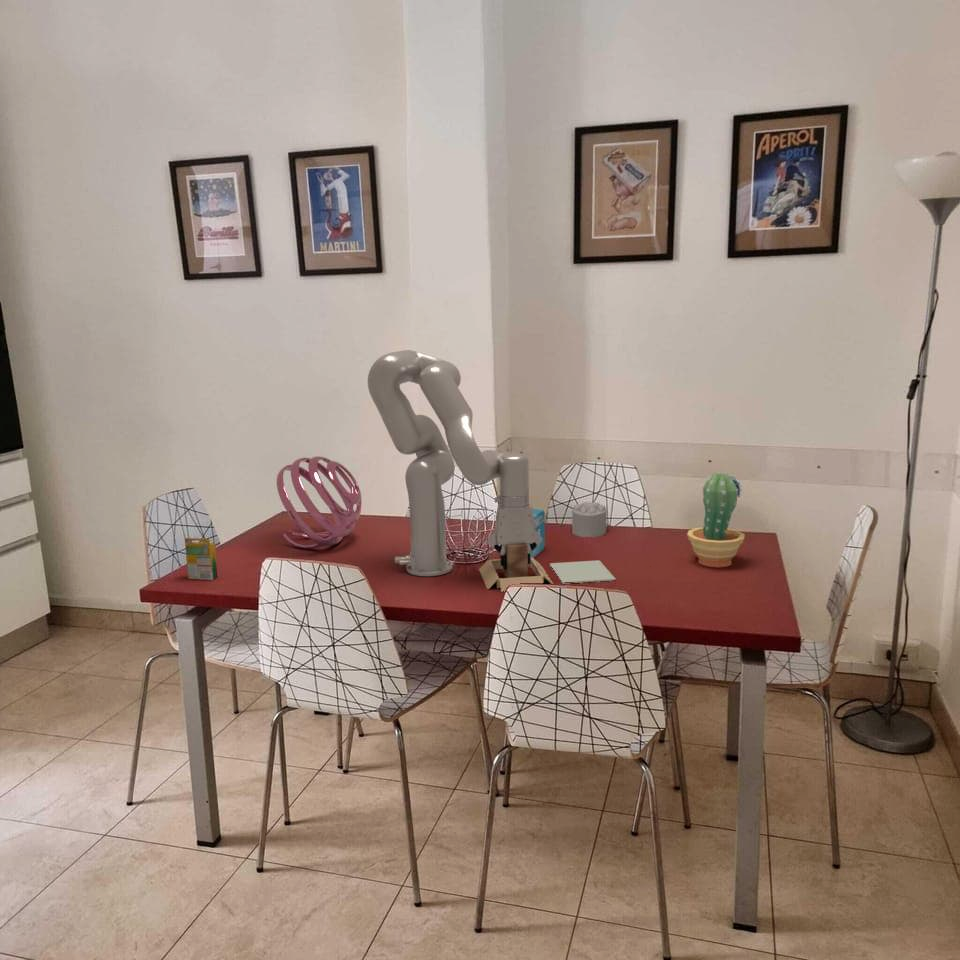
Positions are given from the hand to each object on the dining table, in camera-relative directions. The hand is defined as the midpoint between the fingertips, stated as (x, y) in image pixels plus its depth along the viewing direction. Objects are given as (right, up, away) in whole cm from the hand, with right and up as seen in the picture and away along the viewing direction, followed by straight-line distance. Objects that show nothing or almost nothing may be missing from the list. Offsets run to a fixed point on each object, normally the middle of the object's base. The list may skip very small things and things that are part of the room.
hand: (515, 566), depth 233 cm
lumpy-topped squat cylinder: (+25, +7, +42) cm, 49 cm away
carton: (0, -3, +1) cm, 3 cm away
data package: (+5, +2, +21) cm, 22 cm away
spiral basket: (-57, +3, +35) cm, 67 cm away
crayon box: (-84, -4, +6) cm, 85 cm away
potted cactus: (+55, 0, +10) cm, 56 cm away
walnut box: (0, -3, +1) cm, 3 cm away
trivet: (+18, -2, +3) cm, 18 cm away
